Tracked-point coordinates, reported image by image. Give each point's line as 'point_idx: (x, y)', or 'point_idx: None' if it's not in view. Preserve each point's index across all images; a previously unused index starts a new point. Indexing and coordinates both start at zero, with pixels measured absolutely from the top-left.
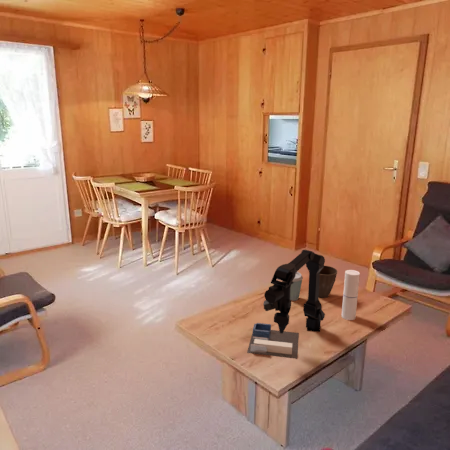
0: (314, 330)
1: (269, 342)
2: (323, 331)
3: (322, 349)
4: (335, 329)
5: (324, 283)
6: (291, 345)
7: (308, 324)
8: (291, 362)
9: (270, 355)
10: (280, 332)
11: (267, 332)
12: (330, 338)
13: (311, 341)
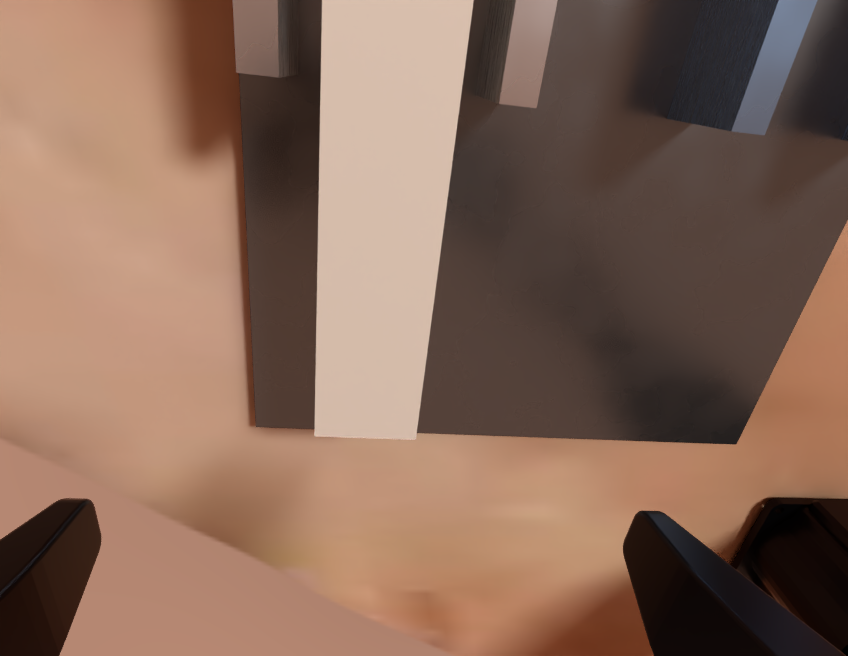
0: (748, 553)
1: (396, 130)
2: None
3: (464, 584)
4: None
5: None
6: (359, 430)
7: (828, 547)
8: (197, 369)
9: (242, 135)
10: (42, 527)
11: (736, 93)
12: (621, 626)
13: (587, 523)
